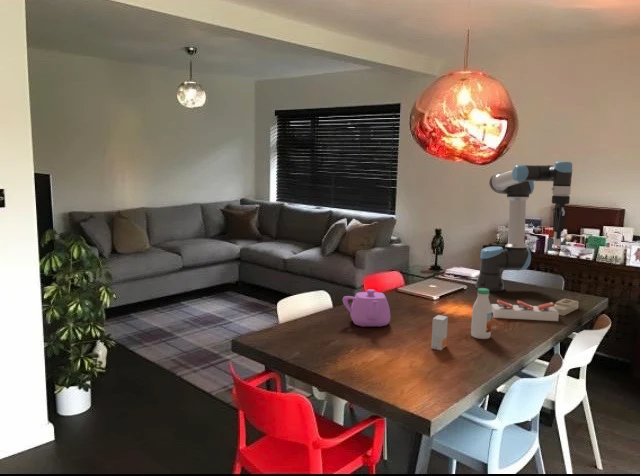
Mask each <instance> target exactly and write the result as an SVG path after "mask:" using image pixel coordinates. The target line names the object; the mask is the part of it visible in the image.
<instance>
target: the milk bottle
mask: <svg viewBox="0 0 640 476" xmlns="http://www.w3.org/2000/svg"><path fill="white" fill-rule="evenodd" d="M489 296H490V291H489V289H486V288H479V289H477V297H476V300H475V301H474V303H473V306H472V311H471V328H470V335H471V337H473V338H475V339H480V340H487V339H490V338H491V335H492V322H493V321H492V317H493V315H492V307H491V304H492V303H491V302H490V299H489Z"/></svg>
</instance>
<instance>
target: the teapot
mask: <svg viewBox="0 0 640 476" xmlns="http://www.w3.org/2000/svg"><path fill="white" fill-rule="evenodd" d="M349 300H352V302H351V306H350V304H349ZM342 303H343V305H344V307H346V309H347V310H348V312H350V314H349V315H350V318H351V320H352V322H353V323H354V325H356V326H360V327H379V328H380V327H383V326H387V325H388V324H389V322H390V321H391V310H390V306H389V302H388V300H387V297H386V296H385V294H384V293H383V292H378V291H376V289H366V291H360V292H356V294H355V295H354V296H351V295H346V296H345V295H344V296H343V298H342Z"/></svg>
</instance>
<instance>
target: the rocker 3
mask: <svg viewBox="0 0 640 476" xmlns="http://www.w3.org/2000/svg"><path fill="white" fill-rule="evenodd" d="M554 304H555V303H554V302H553V301H550V302H547V303H543V304H538V305H536V306H537V307H538V309H539V310H541V309H545V308H549V307H553V306H555V305H554Z"/></svg>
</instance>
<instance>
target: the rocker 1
mask: <svg viewBox="0 0 640 476" xmlns="http://www.w3.org/2000/svg"><path fill="white" fill-rule="evenodd" d="M496 302H497V304H502V305H504V306H507V307H510V308H513V305H514V304H511V303H509V302H506V301H503V300H501V299H497V300H496Z"/></svg>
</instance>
